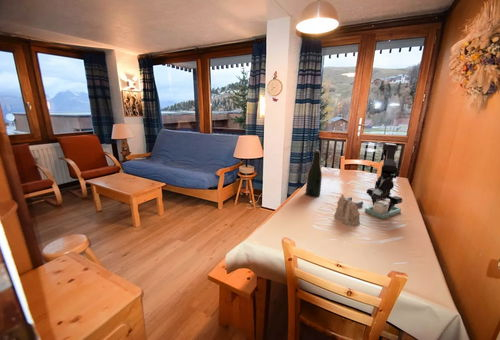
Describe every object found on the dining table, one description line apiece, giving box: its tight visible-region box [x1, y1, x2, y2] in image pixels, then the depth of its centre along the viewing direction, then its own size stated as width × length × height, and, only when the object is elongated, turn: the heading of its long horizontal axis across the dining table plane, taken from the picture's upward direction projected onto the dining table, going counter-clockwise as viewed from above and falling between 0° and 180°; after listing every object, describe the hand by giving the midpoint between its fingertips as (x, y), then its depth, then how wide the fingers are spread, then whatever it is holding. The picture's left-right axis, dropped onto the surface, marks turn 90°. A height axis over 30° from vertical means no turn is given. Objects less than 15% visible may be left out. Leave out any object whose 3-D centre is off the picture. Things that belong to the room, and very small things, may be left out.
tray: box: [364, 205, 402, 220], centre depth 137 cm, size 19×11×2 cm, turn 119°
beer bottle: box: [305, 149, 323, 198], centre depth 158 cm, size 10×10×33 cm
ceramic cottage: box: [334, 194, 361, 227], centre depth 127 cm, size 16×16×15 cm
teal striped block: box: [373, 199, 390, 214], centre depth 136 cm, size 12×5×6 cm, turn 119°
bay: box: [345, 196, 364, 208], centre depth 147 cm, size 7×9×3 cm
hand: (381, 208), depth 136 cm, fingers open, 9 cm apart
